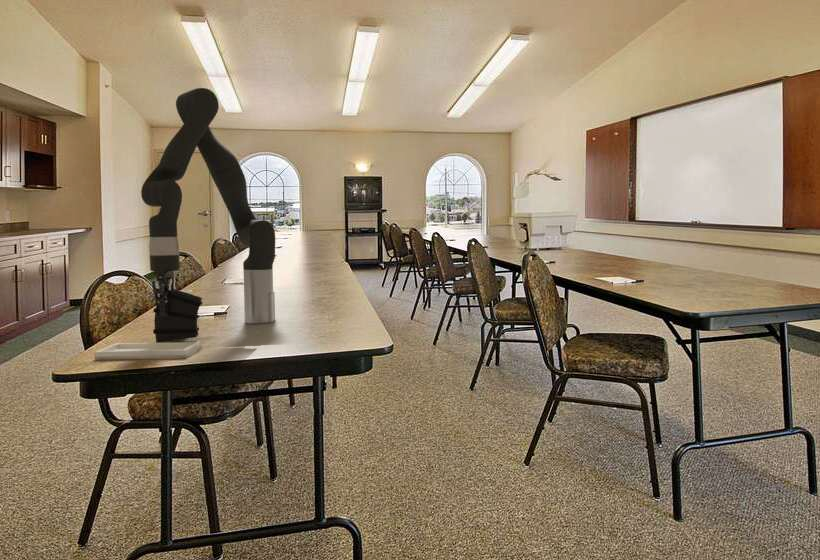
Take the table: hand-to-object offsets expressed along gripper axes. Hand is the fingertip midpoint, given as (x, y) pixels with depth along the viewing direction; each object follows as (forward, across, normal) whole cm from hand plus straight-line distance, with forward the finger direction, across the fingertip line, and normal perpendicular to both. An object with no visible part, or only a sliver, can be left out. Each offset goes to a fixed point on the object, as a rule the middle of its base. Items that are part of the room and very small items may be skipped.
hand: (167, 315), depth 158 cm
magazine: (+8, 0, 0) cm, 8 cm away
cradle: (+8, -12, 0) cm, 15 cm away
